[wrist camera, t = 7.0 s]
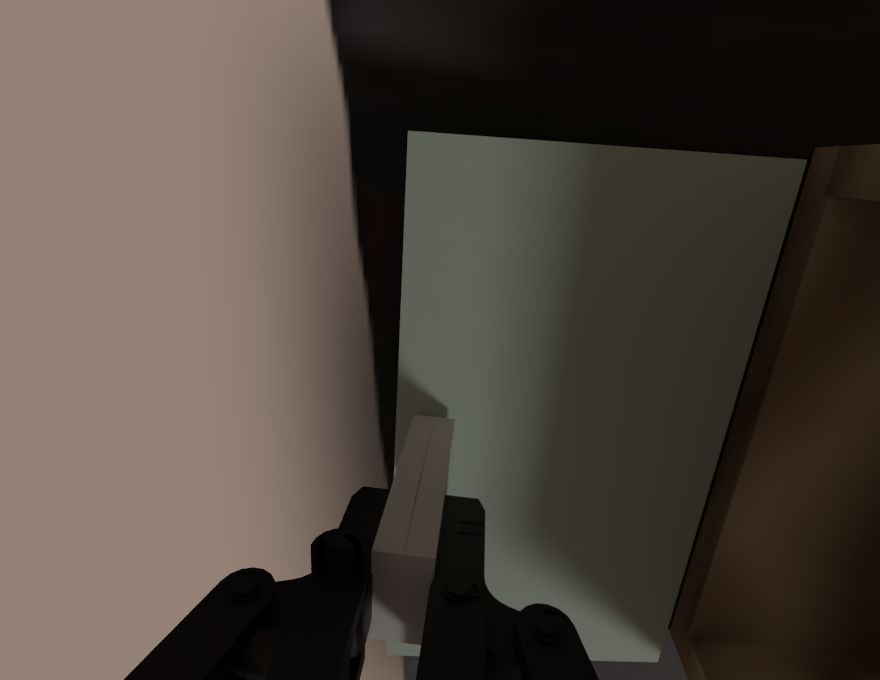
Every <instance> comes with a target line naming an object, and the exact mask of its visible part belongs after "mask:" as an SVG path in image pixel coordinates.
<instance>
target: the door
mask: <svg viewBox="0 0 880 680" xmlns="http://www.w3.org/2000/svg"><path fill="white" fill-rule="evenodd" d="M806 163H807V160H803V159H790V158H776V157H762V156H749V155H735V154H721V153H707V152H694V151H680V150H666V149H653V148H639V147H625V146H611V145H598V144H584V143H570V142H557V141H543V140H529V139H515V138H502V137H488V136H474V135H461V134H447V133H433V132H419V131H408V141H407V165H406V190H405V214H404V238H403V263H402V287H401V312H400V336H399V361H398V385H397V409H396V434H395V458H394V477H395V473H396V470H397V467H398V464H399V460H400V457H401V454H402V451H403V447H404V444H405V441H406V438H407V435H408V431H409V428H410V425H411V422H412V418H413V415H421V416H431V417H440V418H450V419H455V425H454V437H453V448H452V460H451V471H450V483H449V491H448V495H451V496H459V497H468V498H476V499H479V500H480V502H481V504H482V506H483V508H484V509H485V568H484V577H485V583H486V586H487V588H488V590H489V591H490V593H491V594H492V595H493V596H494V597H495V598H496V599H497V600H498V601H500V602H501V603H503V604H505V605H507V606H509V607H511V608H513V609H516V610H518V611H521V610H522V609H523V608H524V607H526V606H528V605H532V604H535V603H539V604H548V605H551V606H553V607H555V608H558V609H560V610H561V611H562V612H563V613H564V614H566V615H567V616H568V617H569V618H570V620H571V621H572V623H573V624H574V626H575V628H576V630H577V632H578V634H579V637H580V639H581V641H582V643H583V646H584V648H585V650H586V652H587V654H588V657H589V659H590V661H628V662H658V659H659V656H660V653H661V649H662V646H663V642H664V639H665V636H666V632H667V629H668V626H669V622H670V619H671V616H672V612H673V609H674V606H675V602H676V599H677V595H678V592H679V589H680V585H681V582H682V579H683V575H684V572H685V569H686V565H687V562H688V559H689V555H690V552H691V549H692V545H693V542H694V538H695V535H696V532H697V528H698V525H699V522H700V518H701V515H702V512H703V508H704V505H705V502H706V498H707V495H708V492H709V488H710V485H711V481H712V478H713V475H714V471H715V468H716V465H717V461H718V458H719V455H720V451H721V448H722V445H723V441H724V438H725V435H726V431H727V428H728V424H729V421H730V418H731V414H732V411H733V408H734V404H735V401H736V398H737V394H738V391H739V388H740V384H741V381H742V377H743V374H744V371H745V367H746V364H747V361H748V357H749V354H750V351H751V347H752V344H753V341H754V337H755V334H756V331H757V327H758V324H759V320H760V317H761V314H762V310H763V307H764V304H765V300H766V297H767V294H768V290H769V287H770V284H771V280H772V277H773V274H774V270H775V267H776V263H777V260H778V257H779V253H780V250H781V247H782V243H783V240H784V237H785V233H786V230H787V227H788V223H789V220H790V217H791V213H792V210H793V206H794V203H795V200H796V196H797V193H798V190H799V186H800V183H801V180H802V176H803V173H804V170H805V166H806ZM420 649H421V645H415V644H408V643H401V642H393V641H387V654H386V655H398V656H420Z"/></svg>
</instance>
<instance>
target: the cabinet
mask: <svg viewBox="0 0 880 680" xmlns="http://www.w3.org/2000/svg"><path fill="white" fill-rule="evenodd" d="M670 633H671V636H672V638H673V641H674V644H675V646H676V649H677V651H678V654H679V657H680V659H681V662H682V664H683V667H684V670H685V672H686V675H687V677H688V680H880V144H871V145H852V146H832V147H815V150H814V153H813V156H812V160H811V163H810V166H809V170H808V173H807V176H806V180H805V183H804V186H803V190H802V193H801V196H800V200H799V203H798V206H797V210H796V213H795V216H794V219H793V223H792V226H791V229H790V233H789V236H788V239H787V243H786V246H785V249H784V253H783V256H782V259H781V263H780V266H779V269H778V273H777V276H776V279H775V283H774V286H773V289H772V293H771V296H770V299H769V303H768V306H767V309H766V313H765V316H764V319H763V323H762V326H761V329H760V333H759V336H758V339H757V343H756V346H755V349H754V352H753V356H752V359H751V362H750V366H749V369H748V372H747V376H746V379H745V382H744V386H743V389H742V392H741V396H740V399H739V402H738V406H737V409H736V412H735V416H734V419H733V422H732V426H731V429H730V432H729V436H728V439H727V442H726V446H725V449H724V452H723V456H722V459H721V462H720V466H719V469H718V472H717V475H716V479H715V482H714V485H713V489H712V492H711V495H710V499H709V502H708V505H707V509H706V512H705V515H704V519H703V522H702V525H701V529H700V532H699V535H698V539H697V542H696V545H695V549H694V552H693V555H692V559H691V562H690V565H689V569H688V572H687V575H686V579H685V582H684V585H683V589H682V592H681V595H680V599H679V602H678V605H677V608H676V612H675V615H674V618H673V622H672V625H671V628H670Z"/></svg>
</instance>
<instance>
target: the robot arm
mask: <svg viewBox="0 0 880 680" xmlns="http://www.w3.org/2000/svg"><path fill="white" fill-rule="evenodd" d="M454 425H455V419H450V418H440V417H431V416H421V415H413V418H412V422H411V425H410V428H409V431H408V435H407V438H406V441H405V444H404V447H403V451H402V454H401V457H400V460H399V464H398V467H397V470H396V473H395V477H394V480H393V483H392V486H391V489H390V490H389V489H379V488H372V487H362V488H361V489H360V490H358V491H357V492H356V493H355V494H354V495H353V496H352V497H351V500H350V502H349V505H348V507H347V510H346V511H345V514H344V516H343V519H342V521H341V523H340V526H339V528H338V529H333V530H330V531H326V532H324V533H322V534H321V535H319V536H318V537H316V539H315V540H314V541H313V543H312V544H311V566H312V567H311V570H312V573H311V574H308V575H306V576H304V577H301V578H297V579H293V580H285V581H279V582H275V580H274V579H273V577H272V575H271V574H270V573H269V572H267V571H266V570H264V569H259V568H246V569H241V570H238V571H236V572H234V573H231V574H229V575H228V576H227V577H225V578H224V579H223V580H221V581H220V582H219V584H218V585H216V587H214V588H213V590H211V591H210V593H209V594H208V595H207V596H206V597H205V598H204V599H203V600H202V601H201V602H200V603H199V604H198V605H197V606H196V607H195V608H194V609H193V610H192V611H191V612H190V613H189V614H188V615H187V616H186V617H185V618H184V619H183V620H182V621H181V622H180V623H179V624H178V625H177V626H176V627H175V628H174V629H173V630H172V631H171V632H170V633H169V634H168V635H167V636H166V637H165V638H164V639H163V640H162V641H161V642H160V643H159V644H158V645H157V646H156V647H155V648H154V649H153V650H152V651H151V652H150V653H149V655H147V657H146V658H145V659H144V660H143V661H142V662H141V663H140V664H139V665H138V666H137V667H136V668H135V669H134V670H133V671H132V672H131V673H130V674H129V675H128V676H127V677H126V678H125V679H124V680H360V676H361V671H362V668H363V664H364V659H365V643H366V639H367V635H368V631H369V627H370V635H369V638H372V639H379V640H386V641H393V642H401V643H408V644H415V645H421V649H420V656H419V663H418V670H417V676H416V680H599V679H598V677H597V675H596V672H595V670H594V668H593V666H592V663H591V661H590V659H589V657H588V654H587V652H586V650H585V648H584V646H583V643H582V641H581V639H580V637H579V634H578V632H577V630H576V628H575V626H574V624H573V623H572V621H571V620H570V618H569V617H568V616H567V615H566V614H564V613H563V612H562V611H561V610H560V609H558V608H555V607H553V606H551V605H548V604H539V603H535V604H532V605H528V606H526V607H524V608H523V609H522V610H521V611H518V610H516V609H513V608H511V607H509V606H507V605H505V604H503V603H501V602H500V601H498V600H497V599H496V598H495V597H494V596H493V595H492V594H491V593H490V591H489V590H488V588H487V586H486V583H485V577H484V568H485V509H484V508H483V506H482V504H481V502H480V500H479V499H476V498H468V497H459V496H451V495H448V491H449V483H450V471H451V460H452V448H453V437H454Z"/></svg>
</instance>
